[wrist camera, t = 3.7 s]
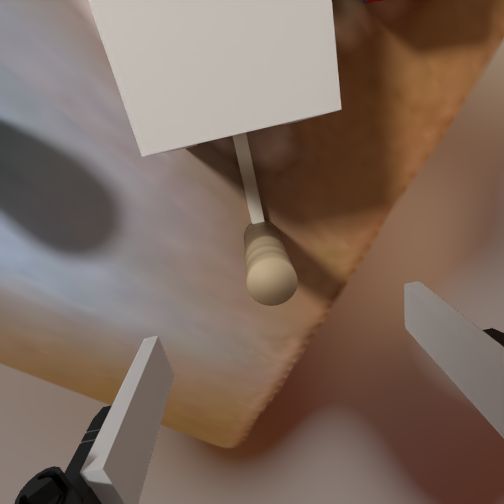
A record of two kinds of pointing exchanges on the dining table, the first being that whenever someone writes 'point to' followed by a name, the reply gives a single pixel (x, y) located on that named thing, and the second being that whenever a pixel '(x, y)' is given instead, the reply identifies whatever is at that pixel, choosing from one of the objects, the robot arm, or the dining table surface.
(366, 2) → the puzzle toy
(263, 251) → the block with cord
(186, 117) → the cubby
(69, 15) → the dining table surface
